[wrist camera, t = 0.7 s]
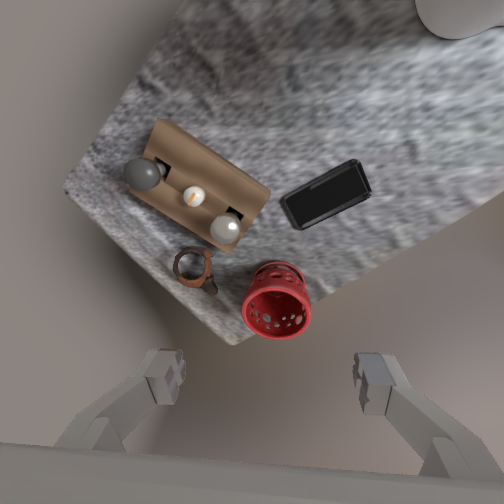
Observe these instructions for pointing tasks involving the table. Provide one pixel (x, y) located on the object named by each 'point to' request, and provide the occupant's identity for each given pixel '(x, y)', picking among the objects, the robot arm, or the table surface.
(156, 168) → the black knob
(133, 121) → the table surface
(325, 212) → the phone
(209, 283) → the brown open round fixture
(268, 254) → the table surface
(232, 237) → the silver knob
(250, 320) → the plant pot
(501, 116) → the table surface
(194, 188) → the dial
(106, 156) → the table surface
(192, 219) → the mount
